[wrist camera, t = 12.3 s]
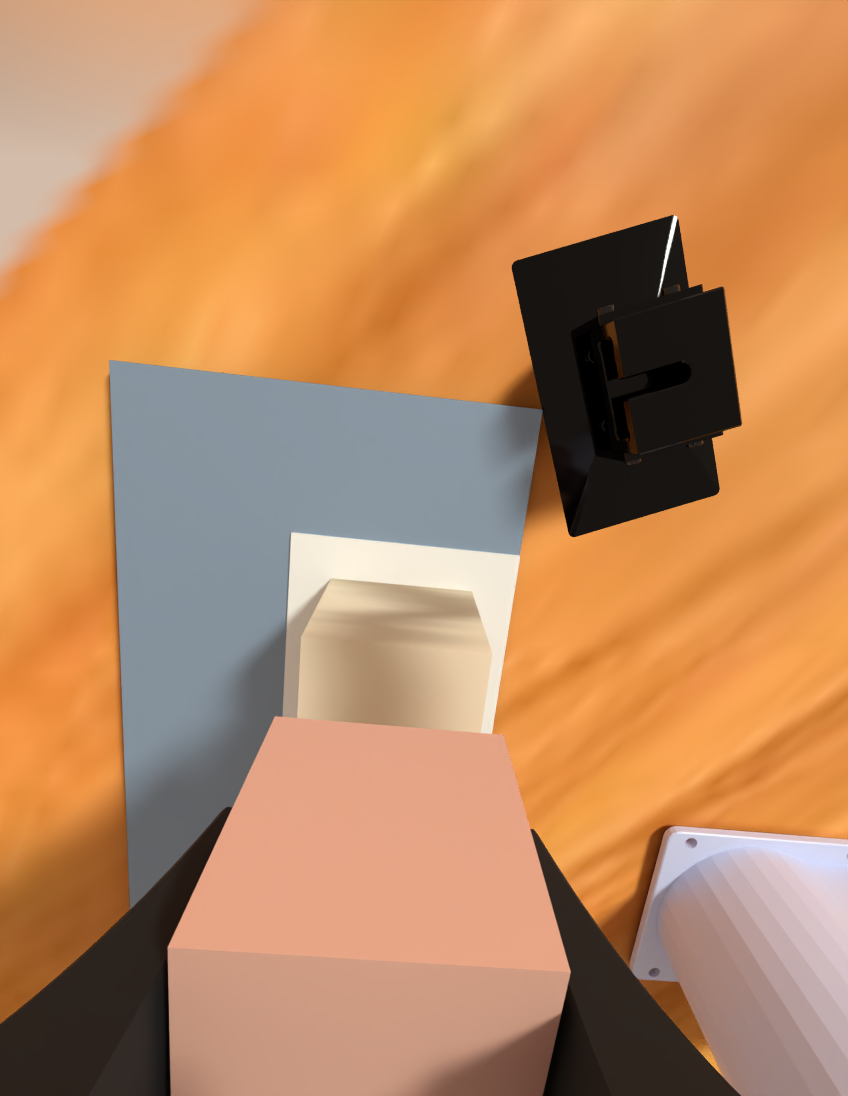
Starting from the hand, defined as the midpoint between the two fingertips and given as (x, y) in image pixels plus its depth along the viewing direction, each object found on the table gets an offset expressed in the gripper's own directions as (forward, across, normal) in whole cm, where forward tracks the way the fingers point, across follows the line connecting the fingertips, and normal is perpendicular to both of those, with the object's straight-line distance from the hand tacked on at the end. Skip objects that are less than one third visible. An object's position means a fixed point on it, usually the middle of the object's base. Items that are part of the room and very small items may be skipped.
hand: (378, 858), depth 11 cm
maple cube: (+9, 0, 0) cm, 9 cm away
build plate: (+10, -7, -11) cm, 16 cm away
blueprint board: (+9, +3, +6) cm, 11 cm away
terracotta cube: (+1, 0, 0) cm, 1 cm away
